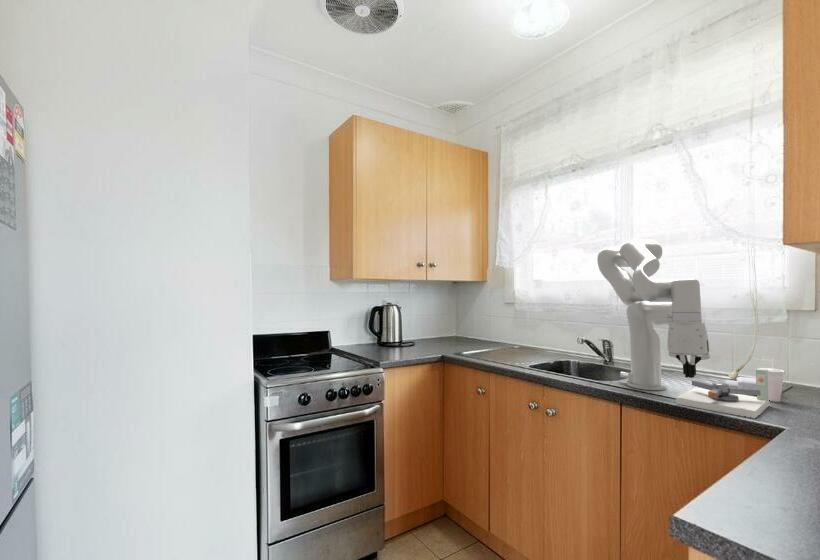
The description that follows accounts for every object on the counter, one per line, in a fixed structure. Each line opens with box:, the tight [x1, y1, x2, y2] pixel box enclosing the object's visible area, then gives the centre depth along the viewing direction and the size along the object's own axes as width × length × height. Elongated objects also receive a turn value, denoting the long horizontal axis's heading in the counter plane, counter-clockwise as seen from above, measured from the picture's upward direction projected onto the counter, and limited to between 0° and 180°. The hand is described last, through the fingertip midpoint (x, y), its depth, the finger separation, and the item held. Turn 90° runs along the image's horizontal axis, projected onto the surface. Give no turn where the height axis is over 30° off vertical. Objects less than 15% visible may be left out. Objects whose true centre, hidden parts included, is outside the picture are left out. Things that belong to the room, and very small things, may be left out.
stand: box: [675, 367, 770, 419], centre depth 122 cm, size 19×19×11 cm
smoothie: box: [759, 355, 786, 403], centre depth 126 cm, size 6×6×14 cm
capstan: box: [691, 379, 761, 401], centre depth 120 cm, size 17×15×4 cm
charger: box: [718, 376, 756, 389], centre depth 137 cm, size 5×9×15 cm
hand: (689, 376), depth 122 cm, fingers closed
